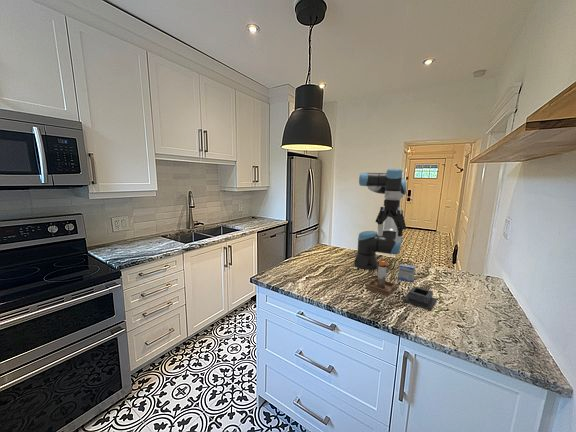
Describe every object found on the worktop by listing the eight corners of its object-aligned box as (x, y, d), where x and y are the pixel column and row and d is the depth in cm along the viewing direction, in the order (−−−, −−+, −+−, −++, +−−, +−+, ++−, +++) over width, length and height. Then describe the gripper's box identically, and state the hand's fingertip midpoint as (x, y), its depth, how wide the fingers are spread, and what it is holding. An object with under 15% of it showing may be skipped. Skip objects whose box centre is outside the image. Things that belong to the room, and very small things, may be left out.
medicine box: (398, 279, 143) (399, 265, 142) (398, 276, 147) (399, 263, 146) (413, 282, 140) (414, 268, 138) (413, 279, 144) (414, 265, 142)
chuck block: (410, 292, 127) (411, 283, 126) (436, 301, 119) (437, 291, 118) (402, 301, 118) (403, 291, 117) (430, 310, 110) (432, 300, 110)
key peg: (375, 286, 132) (377, 259, 130) (381, 285, 134) (383, 259, 131) (380, 289, 129) (382, 262, 126) (386, 288, 130) (388, 261, 127)
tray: (374, 281, 140) (374, 277, 139) (396, 288, 132) (396, 284, 131) (365, 289, 131) (365, 284, 130) (388, 296, 123) (388, 291, 122)
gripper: (370, 197, 137) (368, 233, 141) (404, 202, 114) (400, 245, 118) (381, 196, 140) (378, 233, 143) (417, 201, 116) (412, 244, 120)
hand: (388, 238), depth 130 cm, fingers open, 13 cm apart
